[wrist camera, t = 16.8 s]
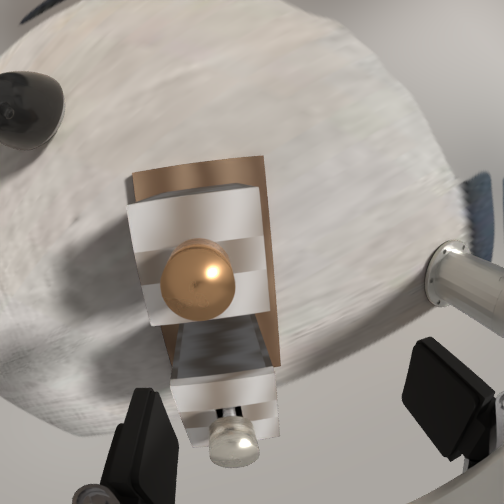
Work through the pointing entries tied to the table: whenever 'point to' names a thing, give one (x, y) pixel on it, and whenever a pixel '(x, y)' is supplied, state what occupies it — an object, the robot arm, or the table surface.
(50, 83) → the pump dispenser
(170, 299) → the copper plunger
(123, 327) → the table surface
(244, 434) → the ivory plunger
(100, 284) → the table surface
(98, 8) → the table surface
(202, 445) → the press station
